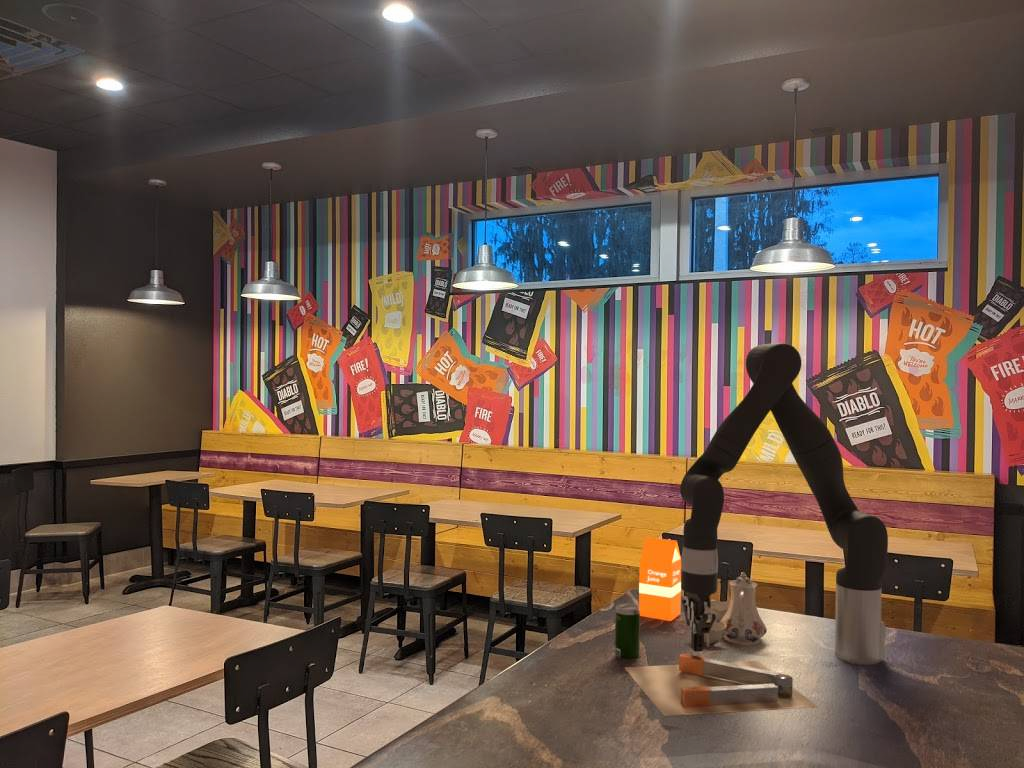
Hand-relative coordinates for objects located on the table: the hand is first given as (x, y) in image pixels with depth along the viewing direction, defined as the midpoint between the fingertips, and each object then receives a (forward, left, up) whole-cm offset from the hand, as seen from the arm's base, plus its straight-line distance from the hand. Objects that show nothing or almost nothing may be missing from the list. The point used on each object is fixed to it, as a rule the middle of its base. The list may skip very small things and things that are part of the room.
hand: (697, 650), depth 168 cm
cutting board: (+1, +11, -5) cm, 12 cm away
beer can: (+13, -8, -5) cm, 16 cm away
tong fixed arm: (+1, +19, -3) cm, 19 cm away
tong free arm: (-3, +11, -3) cm, 12 cm away
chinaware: (-17, -21, -5) cm, 27 cm away
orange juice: (-6, -40, -5) cm, 41 cm away
